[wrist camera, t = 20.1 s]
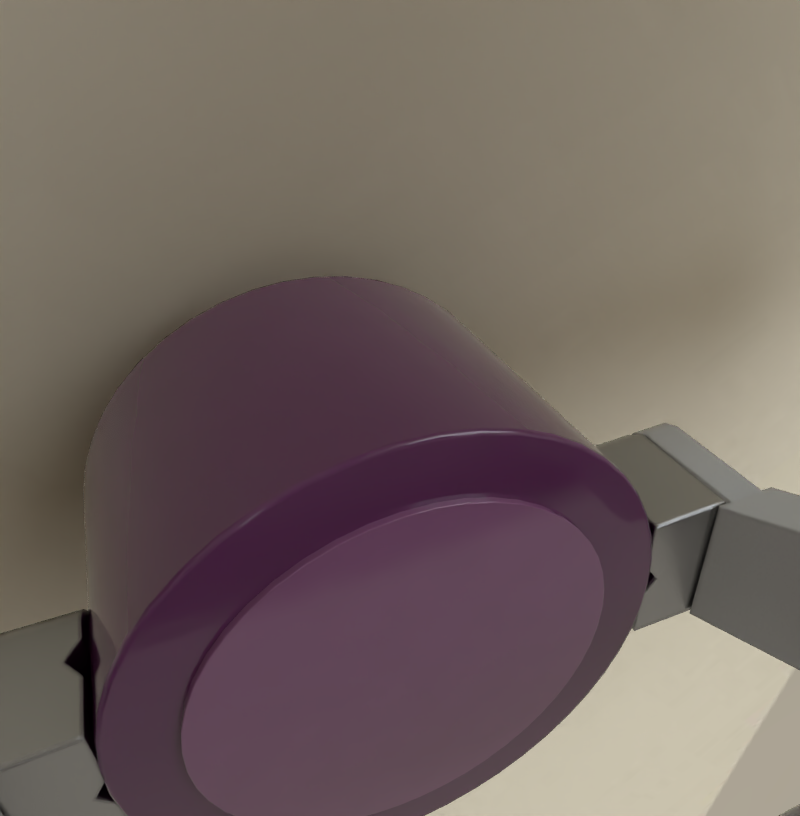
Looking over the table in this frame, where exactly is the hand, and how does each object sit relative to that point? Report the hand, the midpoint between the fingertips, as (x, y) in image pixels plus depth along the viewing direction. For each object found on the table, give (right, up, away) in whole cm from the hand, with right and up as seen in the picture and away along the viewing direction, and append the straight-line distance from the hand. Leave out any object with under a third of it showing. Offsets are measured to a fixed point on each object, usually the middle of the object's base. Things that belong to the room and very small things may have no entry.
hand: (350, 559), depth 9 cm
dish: (-1, +1, +1) cm, 2 cm away
